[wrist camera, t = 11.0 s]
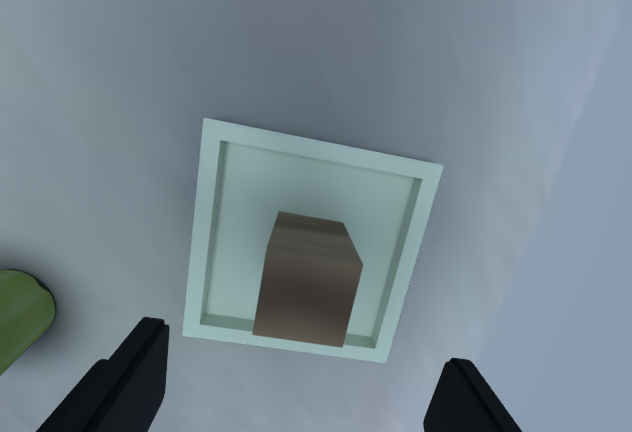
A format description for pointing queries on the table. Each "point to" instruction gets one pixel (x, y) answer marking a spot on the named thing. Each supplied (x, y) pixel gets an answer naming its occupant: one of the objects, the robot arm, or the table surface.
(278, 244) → the walnut block
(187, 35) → the table surface
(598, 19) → the table surface
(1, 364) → the plant pot
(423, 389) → the table surface
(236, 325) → the sage tray
